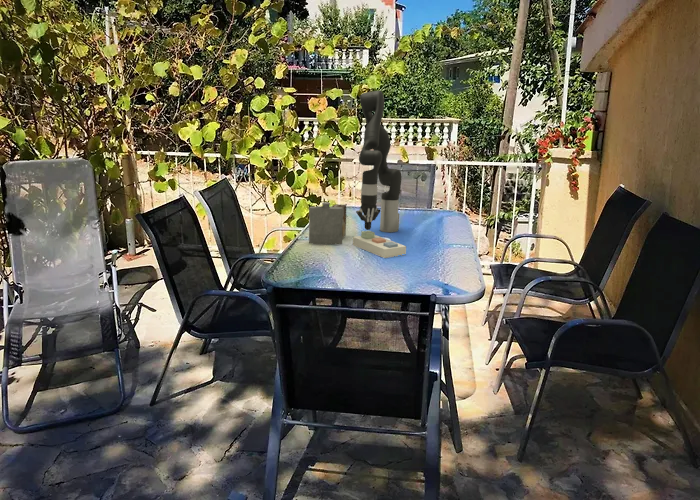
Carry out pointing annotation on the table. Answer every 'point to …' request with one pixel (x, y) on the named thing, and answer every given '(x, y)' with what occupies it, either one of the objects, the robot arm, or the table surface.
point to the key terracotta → (378, 240)
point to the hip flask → (325, 224)
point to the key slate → (390, 244)
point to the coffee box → (343, 219)
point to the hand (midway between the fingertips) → (367, 229)
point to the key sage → (367, 234)
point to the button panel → (379, 247)
